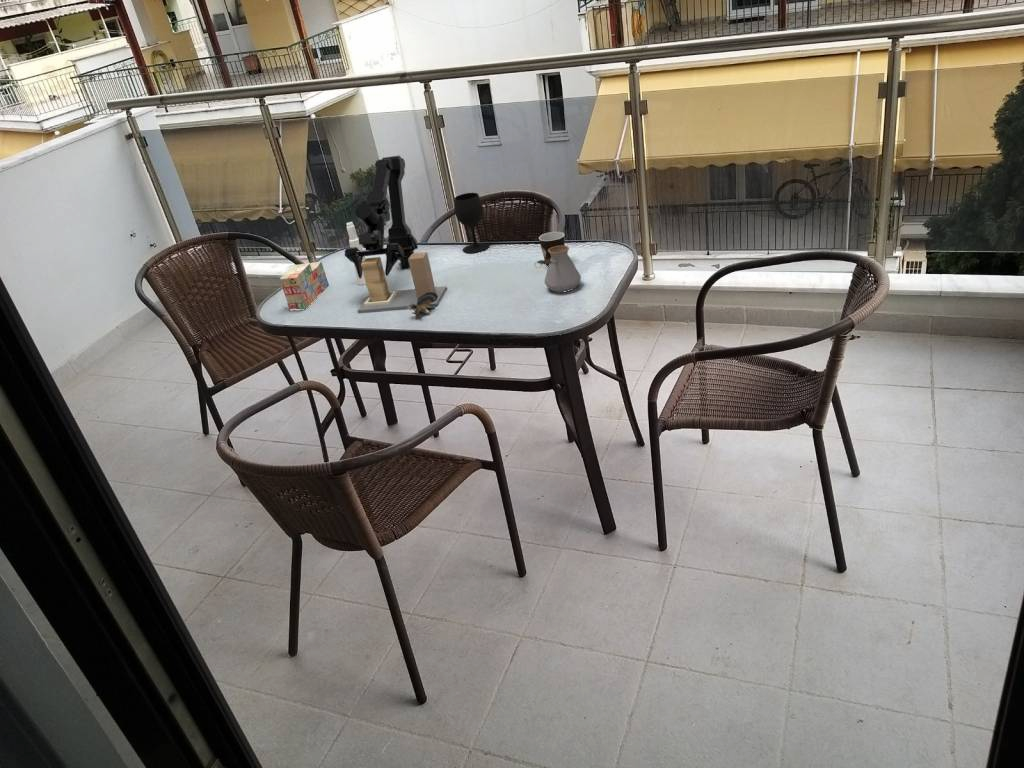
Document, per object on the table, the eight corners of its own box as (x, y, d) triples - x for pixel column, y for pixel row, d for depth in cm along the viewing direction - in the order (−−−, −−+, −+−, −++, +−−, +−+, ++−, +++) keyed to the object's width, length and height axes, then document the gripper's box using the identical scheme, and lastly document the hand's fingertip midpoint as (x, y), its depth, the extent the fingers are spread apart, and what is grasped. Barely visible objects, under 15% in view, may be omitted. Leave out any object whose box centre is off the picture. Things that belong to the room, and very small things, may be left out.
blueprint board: (371, 295, 261) (360, 254, 254) (447, 288, 255) (437, 246, 248) (358, 313, 249) (346, 270, 242) (436, 306, 243) (426, 262, 236)
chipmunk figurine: (430, 317, 234) (444, 300, 240) (414, 300, 232) (428, 283, 238) (417, 326, 239) (431, 309, 245) (401, 310, 237) (415, 294, 243)
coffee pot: (554, 279, 247) (547, 235, 240) (587, 280, 242) (581, 235, 235) (526, 308, 231) (519, 261, 224) (561, 309, 226) (555, 262, 219)
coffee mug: (568, 267, 255) (565, 238, 250) (543, 270, 255) (538, 242, 251) (567, 255, 265) (563, 227, 260) (542, 258, 266) (538, 231, 261)
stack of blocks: (313, 286, 279) (303, 255, 273) (329, 285, 277) (319, 253, 271) (290, 311, 261) (279, 278, 255) (306, 310, 259) (296, 276, 253)
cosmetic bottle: (358, 286, 271) (341, 227, 260) (356, 281, 276) (339, 222, 265) (375, 282, 272) (359, 222, 261) (372, 277, 277) (356, 218, 266)
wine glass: (462, 246, 291) (451, 195, 281) (488, 241, 291) (479, 190, 281) (463, 255, 281) (452, 202, 272) (491, 250, 282) (481, 197, 272)
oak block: (376, 297, 256) (365, 258, 249) (390, 296, 255) (380, 256, 248) (371, 303, 252) (360, 264, 245) (385, 302, 251) (375, 262, 244)
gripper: (338, 224, 246) (335, 269, 242) (392, 218, 242) (391, 264, 238) (353, 239, 257) (350, 282, 253) (405, 234, 253) (403, 277, 249)
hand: (373, 276), depth 248 cm, fingers open, 9 cm apart
